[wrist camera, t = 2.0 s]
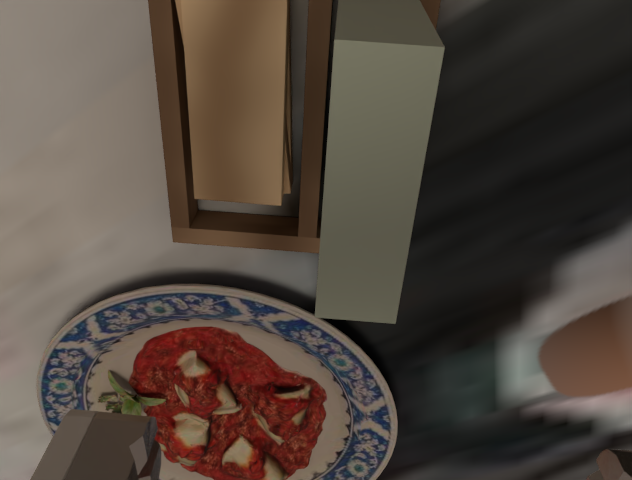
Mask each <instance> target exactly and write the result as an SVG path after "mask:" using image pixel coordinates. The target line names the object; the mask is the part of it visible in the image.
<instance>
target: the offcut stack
mask: <svg viewBox="0 0 632 480" xmlns="http://www.w3.org/2000/svg"><path fill="white" fill-rule="evenodd" d="M175 2H176V8H177V13H178V18H179V24H180V29H181V34H182V40H183V45H184V53H185V68H186V82H187V97H188V111H189V126H190V140H191V155H192V170H193V184H194V199H203V200H215V201H228V202H240V203H252V204H265V205H277V206H281V204H282V199H283V195H284V194H290V193H291V189H292V183H293V157H292V98H291V39H290V0H175Z"/></svg>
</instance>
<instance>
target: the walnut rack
mask: <svg viewBox="0 0 632 480" xmlns="http://www.w3.org/2000/svg"><path fill="white" fill-rule="evenodd" d="M420 2H421V4H422V6H423V7H424V9H425V11H426V13H427V15H428V17H429V19H430V21H431V22H432V24H433V26H434V28H435V30H436V26H437V20H438V14H439V8H440V2H441V0H420ZM148 4H149V14H150V24H151V33H152V43H153V53H154V62H155V72H156V82H157V91H158V101H159V111H160V120H161V130H162V140H163V149H164V159H165V169H166V178H167V188H168V198H169V207H170V217H171V227H172V237H173V242H178V243H191V244H204V245H217V246H230V247H244V248H257V249H270V250H283V251H296V252H309V253H319V249H320V235H321V221H322V219H318V213H319V198H320V183H321V168H322V154H323V139H324V124H325V109H326V94H327V79H328V65H329V50H330V35H331V20H332V5H333V0H309V6H308V28H307V50H306V73H305V95H304V117H303V139H302V161H301V183H300V205H299V218H296V217H282V216H269V215H256V214H243V213H230V212H216V211H203V210H198V204H197V199H194V184H193V170H192V155H191V140H190V126H189V111H188V97H187V82H186V68H185V53H184V45H183V40H182V34H181V29H180V24H179V18H178V13H177V8H176V2H175V0H148Z"/></svg>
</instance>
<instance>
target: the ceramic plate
mask: <svg viewBox="0 0 632 480" xmlns="http://www.w3.org/2000/svg"><path fill="white" fill-rule="evenodd" d="M37 398H38V402H39V407H40V411H41V414H42V416H43V419H44V422H45V424H46V426H47V428H48V430H49V431H50V433H51V434H52V436H54V434H55V432H56V430H57V428H58V426H59V424H60V423H61V421H62V419H63V417H64V416H65V415H66V414H67V413H68V412H69V411H70V410H71V409H75V410H88V411H100V412H110V413H120V414H130V415H140V416H151V417H156V422H157V427H158V430H157V433H156V436H155V440H156V441H157V442H158V443H159V444H160V446H161V469H160V475H159V480H376V479H377V477H378V476H379V475H380V474H381V472H382V471H383V470H384V468H385V467H386V465H387V463H388V461H389V459H390V457H391V455H392V452H393V450H394V447H395V443H396V437H397V423H398V421H397V413H396V407H395V404H394V400H393V397H392V394H391V391H390V389H389V387H388V384H387V382H386V381H385V379H384V377H383V375H382V374H381V372H380V370H379V369H378V368H377V366H376V365H375V364H374V362H373V361H372V360H371V358H370V357H369V356H368V355H367V354H366V353H365V352H364V351H363V350H362V349H361V348H360V347H359V346H358V345H357V344H356V343H355V342H354V341H352V340H351V339H350V338H349V337H348V336H347V335H345V334H344V333H343V332H341V331H340V330H338V329H337V328H336V327H334V326H333V325H331V324H330V323H328V322H326V321H325V320H323V319H321V318H315V315H314V314H312V313H310V312H308V311H306V310H304V309H302V308H300V307H298V306H295V305H293V304H290V303H288V302H285V301H282V300H280V299H277V298H274V297H271V296H267V295H264V294H261V293H257V292H253V291H248V290H243V289H239V288H233V287H226V286H219V285H207V284H170V285H161V286H152V287H144V288H140V289H137V290H133V291H129V292H125V293H121V294H118V295H115V296H112V297H110V298H107V299H105V300H102V301H100V302H98V303H96V304H94V305H92V306H91V307H89V308H87V309H85V310H84V311H82V312H81V313H79V314H78V315H76V316H75V317H74V318H72V319H71V320H70V321H69V322H68V323H67V324H66V325H65V326H63V327H62V328H61V329H60V331H59V332H58V333H57V334H56V335H55V337H54V338H53V339H52V340H51V342H50V344H49V345H48V347H47V348H46V350H45V352H44V355H43V357H42V359H41V362H40V366H39V370H38V375H37Z"/></svg>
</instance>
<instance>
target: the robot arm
mask: <svg viewBox="0 0 632 480" xmlns="http://www.w3.org/2000/svg"><path fill="white" fill-rule="evenodd" d="M157 430H158V427H157V422H156V417H151V416H140V415H130V414H120V413H110V412H100V411H88V410H75V409H71V410H70V411H69V412H68V413H67V414H66V415H65V416H64V417H63V419H62V421H61V423H60V424H59V426H58V428H57V430H56V432H55V434H54V436H53V438H52V440H51V442H50V444H49V445H48V447H47V449H46V451H45V453H44V455H43V457H42V459H41V461H40V463H39V464H38V466H37V468H36V470H35V472H34V474H33V476H32V478H31V480H159V475H160V469H161V446H160V444H159V443H158V442H157V441H156V440H155V436H156V433H157ZM596 462H597V464H598V466H599V469H600V470H598V471H596V472H594V473H593V474H591V475H589V476H588V477H587V480H632V450H618V449H606V450H604V451H603V452H601V453H600V455H599V457H598V459H597V460H596Z"/></svg>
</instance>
